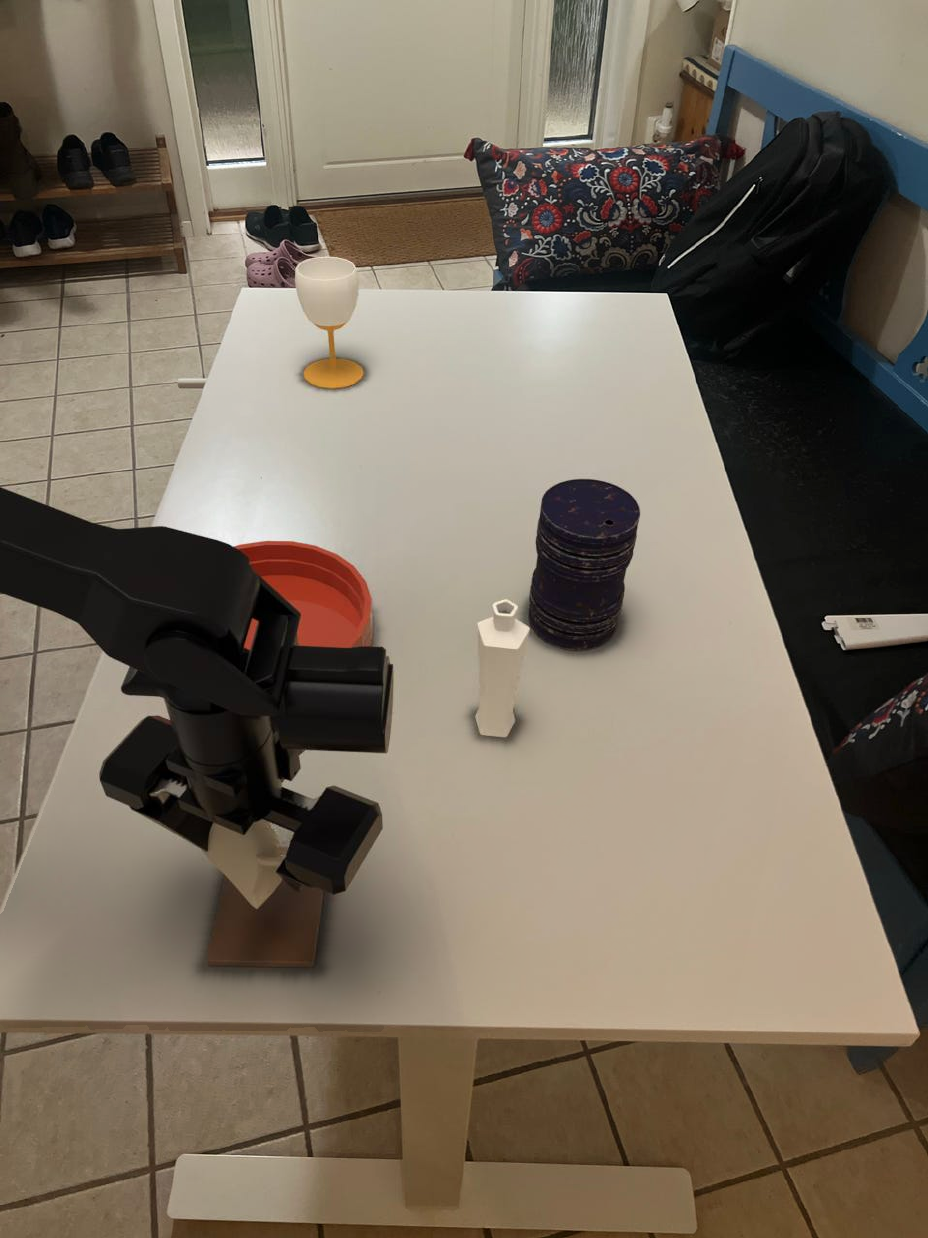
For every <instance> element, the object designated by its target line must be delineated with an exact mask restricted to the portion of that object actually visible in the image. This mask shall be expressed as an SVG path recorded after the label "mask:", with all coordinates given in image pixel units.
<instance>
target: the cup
mask: <svg viewBox="0 0 928 1238" xmlns="http://www.w3.org/2000/svg"><path fill="white" fill-rule="evenodd" d="M294 271H295V272H294V285H295V288H296V295H297V298H298V301H299V304H300V307H301V309H302V312H303V313H304V315H305V316H306V318H307V320H308V321H309V322H310V323H312V324H313V325H314V326H316V327H317V329H318V328H319V329H320V330H324V331H327V339H328V352H329V358H326V359H321V360H317V361H313V362H312V363H310V364H309V365H308V366H306V367H305V369H304V371H303V378H304V380H305V381H306V382H308V383H309V384H310V385H312V386H314V387H318V388H321V389H330V390H331V389H332V390H335V389H342V388H343V389H344V388H347V387H350V386H353V385H356V384H357V383H358V382H360V381H361V380H362V379H363V377H364V374H365V373H364V369H363V367H362V366H361V365H360V364H358V363H357V362H355V361H352V360H348V359H346V358H345V359H344V358H336V349H335V347H336V345H335V330H339V329H341V328H343V327H344V326H345V325H346V324H347V323H348V322H349V321H350V320H351V318H352V317H353V314H354V312H355V310H356V307H357V303H358V299H359V291H360V288H359V286H360V280H359V275H358V270H357V267H356V265H355V263H353V262H351V261H350V260H349V259H346V258H342V257H337V256H317V257H316V256H315V257H312V258H307V259H305V260H303V261H301V262H299V263H298V264H297V265H296V267H295V270H294Z"/></svg>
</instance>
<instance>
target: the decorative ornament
mask: <svg viewBox="0 0 928 1238" xmlns="http://www.w3.org/2000/svg"><path fill="white" fill-rule="evenodd" d="M288 847H289V846H282V845H281V846H280V840H279V839H278V838H277V834H276V831H275V829H274V828H273V827H272V825H271V823H270V822H268V821H266V820H263V819H261V820H260V821H258V822H254V823H253V824H252V826H251V827H250V828H249V830H248V831H247V832H246V834H245V835H242V834H239V833H237V832H235V831H232V830H230V829H228V828H225V827H223V826H221V825H218V824H216V823H213V825H212V827H211V829H210V833H209V840H208V852H206V851H204V850H202V849H201V852H202V853H203V854H204V855H205V856H206V857H207V859H208V860H210V861H211V863H212V864H213V865H214V866H215V867H216V868H217V869H218V870H219V871H220V872H221V873H222V874H223V875H224V877H225V876H226V877H227V878H228V879H229V880H230V881H231V882H232V883H233V884H234V885H235V886H236V888H237V889H238V890H239V891H240V892H241V893H242V895H243V896H244V897H245V898H246V899H247V900H248V902H249V903H250V904H251V905H252V906H253V907H255V908H256V909H258V908H259V907H260V906H261V905H262V904H263V903H264V901H265V900H266V899H267V898H268V897H269V896H270V895H271V894H272V893H273V892H274V890H275V889H276V888H277V886H278V885H279V884H280V883H281V881H282V878H281V877H280V876H279V875H278V874H277V873H276V870H277V869H278V867H279V866H280V864H281V863H282V861H283V860H284V858H285V857H282V856H286V854H287V851H288Z"/></svg>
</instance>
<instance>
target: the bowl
mask: <svg viewBox="0 0 928 1238" xmlns="http://www.w3.org/2000/svg"><path fill="white" fill-rule="evenodd" d="M233 547H235V548H237V549H238V550H240V551H241V552H242V553H244V554H245V555H246V556H247V557H248V558H249V559H250V564H251V566H252V567H253V569H254V571H255V572H256V573H257V574H258V575H259V576H260V577H262V578H263V579H264V580H265V581H266V582H267V583H268V584H269V585H270V586H271V587H272V588H274V589H275V590H276V591H277V592H279V594H280V595H281V596H282V597H283V598H285V599H286V600H287V601H288V602H289V603H290V604H291V605H292V606H293V607H294V608H296V609H297V610H298V611H299V612H300V613H301V618H300V622H299V626H298V631H297V637H298V645H299V646H318V647H340V648H352V647H360V646H372V645H373V633H374V619H373V601H372V595H371V593H370V589H369V586H368V583H367V581H366V579H365V578H364V577H363V575H362V574H361V573H360V572H359V570H358V569H357V568H356V566H355V565H353V564H352V563H351V562H349V560H346V559H345V558H344V557H342V556H341V555H339V554H337V553H335V552H332V551H330V550H327V549H325V548H323V547H320V546H317V545H315V544H310V543H309V544H308V543H303V542H298V541H294V540H292V541H291V540H261V541H255V542H248V543H247V542H246V543H242V544H237V545H234V546H233ZM257 624H258V621H257V620H255V619H253V618H252V621H251V624H250V628H249V631H248V635H247V638H246V642H245V645H244V648H247V649H248V650H250V648H251V645H252V641H253V638H254V634H255V631H256V627H257Z"/></svg>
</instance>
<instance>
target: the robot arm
mask: <svg viewBox="0 0 928 1238" xmlns="http://www.w3.org/2000/svg"><path fill="white" fill-rule="evenodd" d="M0 594H2V595H6V596H8V597H11V598H14V599H17V600H19V601H22V602H26V603H28V604H30V605H34V606H36V607H39V608H42V609H45V610H47V611H50V612H54V613H56V614H57V615H60V616H63V617H64V618H66V619H69V620H71V621H73V622H75V623H77V624H78V625H79V627H81V628H82V629H83V630H84V632H85V633H86V634H87V635H88V636H89V637H90V638H91V639H92V641H94V643H95V644H96V645H97V646H98V648H100V650H101V651H103V652H104V654H105V655H106V656H108V657H109V658H111V659H113V660H115V661H117V662H118V663H119V662H120V663H121V664H123V665H125V666H128V669H127V672H126V674H125V677H124V679H123V682H122V684H121V686H120V691H121V693H122V694H124V695H126V696H136V697H155V698H156V697H157V698H162V699H163V701H164V704H165V708H166V711H167V714H168V718H169V719H168V718H165V717H163V716H161V715H147V716H145V717H144V718H142V719H141V720H140V721H139V722H138V723H137V724H136V725H135V726H134V727H133V728H132V729H131V730H130V732H128V734H127V735H126V736H124V738H123V739H122V740H121V741H120V742H119V744H117V746H116V747H115V748H114V749H113V750H112V751H111V752H110V753H109V754H108V755H107V756H106V757H105V758H104V760H103V761H102V764H101V766H100V769H99V772H98V773H99V775H98V776H99V782H100V784H101V786H102V787H101V788H102V789H103V792H104V794H105V796H106V797H107V798H110V799H112V800H114V801H117V802H119V803H121V804H124V805H126V806H128V807H129V808H130V810H131V811H133V812H135V813H138V814H139V815H141V816H143V817H145V818H146V819H148V820H149V821H151V822H153V823H155V824H157V825H159V826H161V827H162V828H164V829H166V830H168V831H169V832H171V833H172V834H175V835H176V836H178V837H179V838H182V839H183V840H185V841H187V843H189V844H191V845H193V846H195V847H197V848H198V849H200V850H201V851H202V850H204V851H206V852H208V840H209V833H210V829H211V827H212V825H213V823H216V824H218V825H221V826H223V827H225V828H228V829H230V830H232V831H235V832H237V833H239V834H242V835H245V834H246V832H247V831H248V830H249V828H250V827H251V826H252V824H253V823H254V822H258V821H260V820H261V819H263V820H266V821H268V822H269V823H270V824H272V825H274V826H278V827H280V828H282V829H285V830H287V831H290V832H291V833H293V834H292V835H291V839H290V841H289V845H288V846H287V847H288V851H287V854H286V855H285V856H284V857H283V858H284V860H283V861H282V863H281V864H280V866H279V867H278V869H277V870H276V873H277V874H278V875H279V876H280V877H281V878H282V879H283V880H284V881H285V882H286V883H287V884H288V885H289V886H290V887H291V888H293V889H294V890H295V891H297V892H299V893H301V892H302V890H303V888H304V887H305V886H306V887H308V888H318V889H321V890H323V891H324V892H325V893H328V894H330V895H332V896H335V895H338V894H341V893H344V892H347V890H348V888H349V887H350V885H351V883H352V882H353V880H354V878H355V876H356V875H357V873H358V871H359V869H360V868H361V866H362V864H363V863H364V862H365V859H366V858H367V856H368V854H369V853H370V852H371V849H372V848H373V846H374V844H375V843H376V841H377V839H378V838H379V835H381V833H382V831H383V830H384V826H383V822H384V821H383V812H382V810H381V806H380V803H379V802H377V801H375V800H371V799H369V798H367V797H364V796H361V795H359V794H356V793H354V792H353V791H349V790H347V789H344V788H342V787H340V786H336V785H331V786H327V787H325V788H324V790H323V791H322V793H321V795H319V796H318V797H316V798H311V797H308V796H306V795H304V794H301V793H299V792H296V791H294V790H292V789H289V788H287V787H284V786H283V783H284V782H285V780H287V781H288V782H293V780H294V779H295V777H296V776H297V775H298V774H299V773H300V770H301V769H302V766H301V759H300V755H302V754H303V753H304V752H305V751H317V752H318V751H319V752H339V753H340V752H344V753H365V754H366V753H367V754H388V752H389V747H390V741H391V733H392V724H393V723H392V722H393V707H394V705H393V704H394V663H391V660H390V656H389V655H388V656H387V649H386V648H385V647H383V646H372V645H371V646H360V647H352V648H340V647H318V646H299V645H298V637H297V631H298V626H299V622H300V618H301V613H300V612H299V611H298V610H297V609H296V608H294V607H293V606H292V605H291V604H290V603H289V602H288V601H287V600H286V599H285V598H283V597H282V596H281V595H280V594H279V592H277V591H276V590H275V589H274V588H272V587H271V586H270V585H269V584H268V583H267V582H266V581H265V580H264V579H263V578H262V577H260V576H259V575H258V574H257V573H256V572H255V571H254V569H253V567H252V566H251V564H250V559H249V558H248V557H247V556H246V555H245V554H244V553H242V552H241V551H240V550H238V549H237V548H235V547H234V546H233V545H231V544H230V543H227V542H224V541H222V540H218V539H215V538H212V537H207V536H203V535H199V534H195V533H192V532H188V531H184V530H181V529H177V528H173V527H169V526H164V525H157V526H143V527H142V526H141V527H130V528H129V527H128V528H115V527H112V526H111V527H110V526H107V525H103V524H99V523H95V522H91V521H89V520H87V519H84V518H81V517H79V516H76V515H74V514H71V513H69V512H66V511H64V510H60V509H58V508H56V507H53V506H50V505H48V504H45V503H43V502H40V501H38V500H35V499H33V498H29V497H27V496H25V495H22V494H19V493H17V492H15V491H12V490H10V489H6V488H5V487H1V486H0ZM252 618H253V619H255V620H257V621H258V624H257V627H256V631H255V634H254V638H253V641H252V645H251V648H250V650H248V649H247V648H244V645H245V642H246V638H247V635H248V631H249V628H250V624H251V621H252Z"/></svg>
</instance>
